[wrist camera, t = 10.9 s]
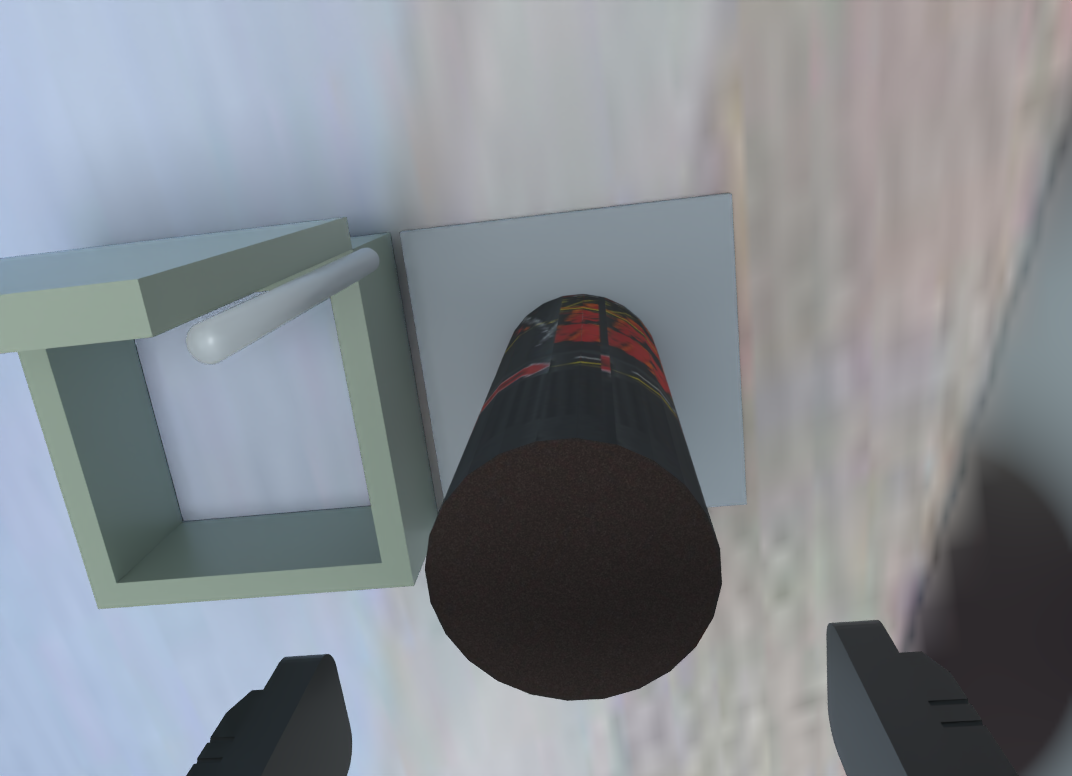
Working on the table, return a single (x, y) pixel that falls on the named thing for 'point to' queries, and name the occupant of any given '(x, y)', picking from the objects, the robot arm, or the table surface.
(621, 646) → the deodorant
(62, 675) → the table surface
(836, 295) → the table surface
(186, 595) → the case
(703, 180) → the table surface
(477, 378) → the mat
